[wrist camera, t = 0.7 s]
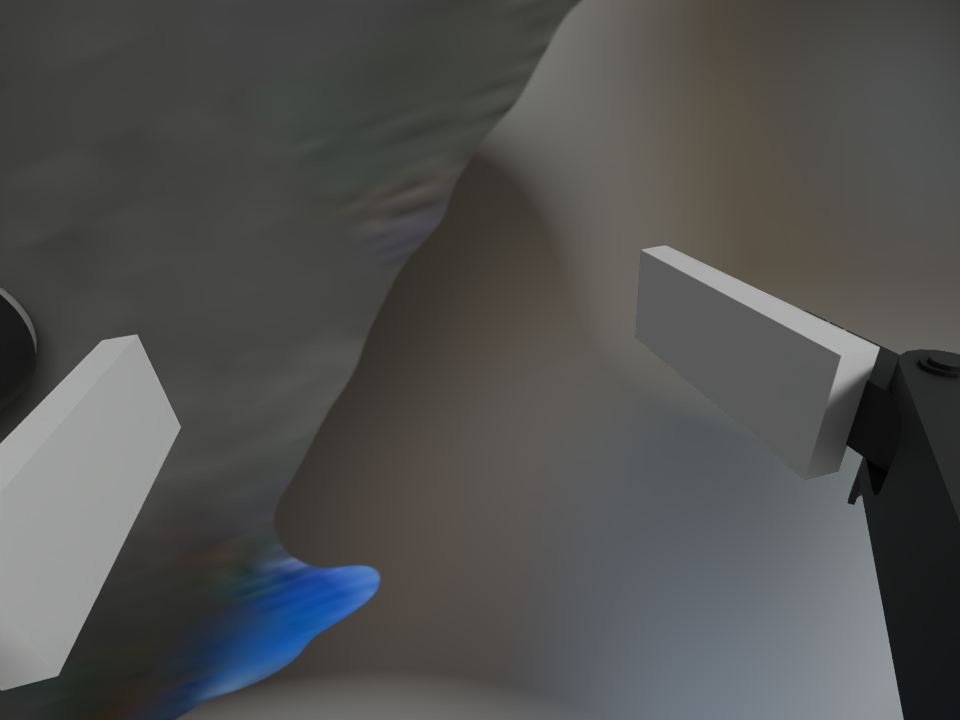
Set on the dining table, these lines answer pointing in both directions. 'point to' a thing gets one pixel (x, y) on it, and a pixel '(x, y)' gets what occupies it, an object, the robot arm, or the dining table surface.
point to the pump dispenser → (15, 349)
